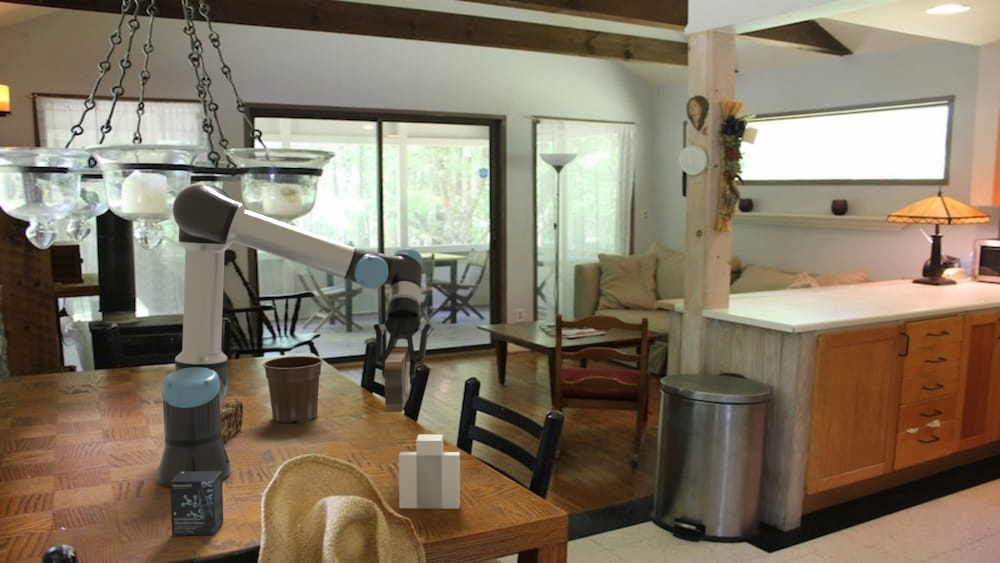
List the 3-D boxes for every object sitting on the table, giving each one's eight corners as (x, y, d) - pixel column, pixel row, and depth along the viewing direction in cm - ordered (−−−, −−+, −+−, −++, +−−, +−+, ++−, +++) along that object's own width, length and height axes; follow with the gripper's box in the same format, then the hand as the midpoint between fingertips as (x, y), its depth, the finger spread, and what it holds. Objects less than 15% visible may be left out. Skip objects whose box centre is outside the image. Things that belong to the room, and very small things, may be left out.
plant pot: (252, 422, 213) (250, 364, 212) (288, 407, 228) (286, 353, 227) (301, 428, 208) (299, 369, 206) (335, 413, 222) (334, 358, 221)
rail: (402, 412, 166) (401, 361, 164) (385, 412, 165) (384, 361, 164) (410, 392, 181) (409, 346, 180) (394, 392, 181) (393, 346, 180)
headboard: (459, 508, 155) (459, 440, 153) (399, 508, 155) (398, 440, 153) (461, 493, 163) (461, 428, 161) (404, 493, 163) (404, 428, 161)
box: (171, 537, 141) (169, 481, 140) (182, 524, 147) (180, 470, 146) (215, 536, 142) (213, 480, 141) (224, 523, 147) (222, 469, 146)
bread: (215, 451, 190) (214, 411, 189) (173, 449, 190) (171, 410, 189) (245, 428, 208) (244, 392, 207) (207, 427, 209) (205, 391, 208)
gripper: (439, 313, 189) (435, 398, 174) (371, 314, 188) (362, 398, 174) (438, 295, 183) (433, 381, 168) (367, 295, 183) (357, 381, 168)
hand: (397, 389), depth 171 cm, fingers closed on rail, 3 cm apart
